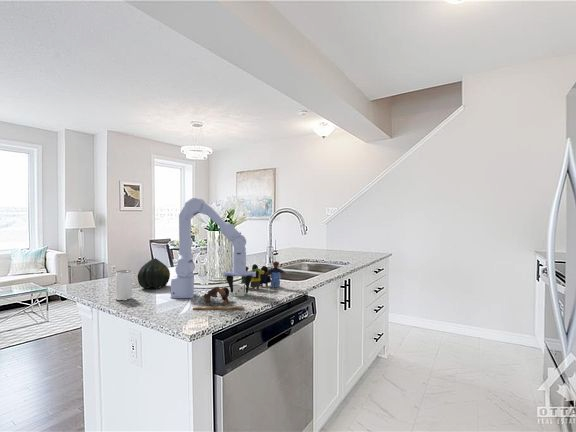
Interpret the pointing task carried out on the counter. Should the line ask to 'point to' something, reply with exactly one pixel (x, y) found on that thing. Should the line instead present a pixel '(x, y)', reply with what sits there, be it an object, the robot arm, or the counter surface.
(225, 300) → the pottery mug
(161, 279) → the squash
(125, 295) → the can
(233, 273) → the robot arm
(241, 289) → the die
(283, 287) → the counter surface
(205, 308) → the counting strip
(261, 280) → the doll family
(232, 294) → the felt mat
